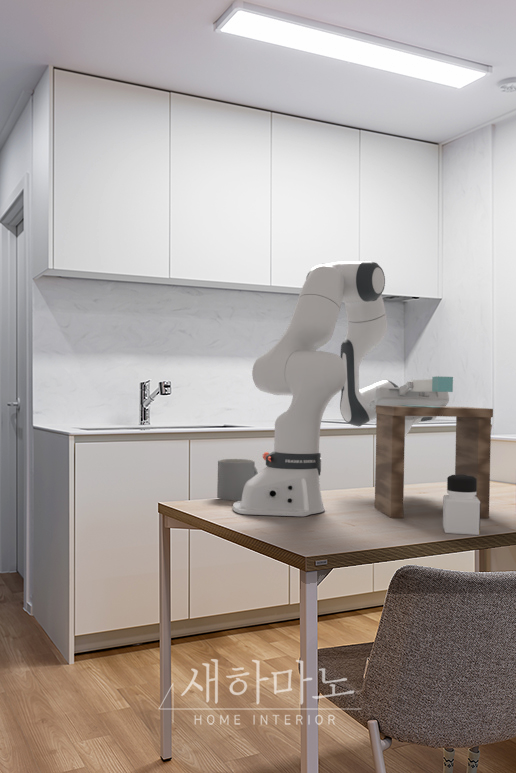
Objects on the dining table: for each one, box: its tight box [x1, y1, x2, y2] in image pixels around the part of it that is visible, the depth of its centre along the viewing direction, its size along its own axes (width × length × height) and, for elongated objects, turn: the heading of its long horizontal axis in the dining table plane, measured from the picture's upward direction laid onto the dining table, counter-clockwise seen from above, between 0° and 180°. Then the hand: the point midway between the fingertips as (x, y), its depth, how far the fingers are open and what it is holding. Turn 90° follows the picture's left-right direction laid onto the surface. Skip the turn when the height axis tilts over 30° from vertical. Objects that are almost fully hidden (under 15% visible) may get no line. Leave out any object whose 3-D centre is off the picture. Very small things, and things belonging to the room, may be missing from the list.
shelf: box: [374, 405, 494, 519], centre depth 171 cm, size 24×16×26 cm, turn 96°
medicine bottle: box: [442, 474, 481, 536], centre depth 149 cm, size 7×7×12 cm
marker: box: [410, 375, 454, 393], centre depth 177 cm, size 23×4×4 cm, turn 6°
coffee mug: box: [216, 458, 259, 502], centre depth 190 cm, size 13×10×10 cm
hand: (418, 384), depth 184 cm, fingers closed on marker, 3 cm apart
